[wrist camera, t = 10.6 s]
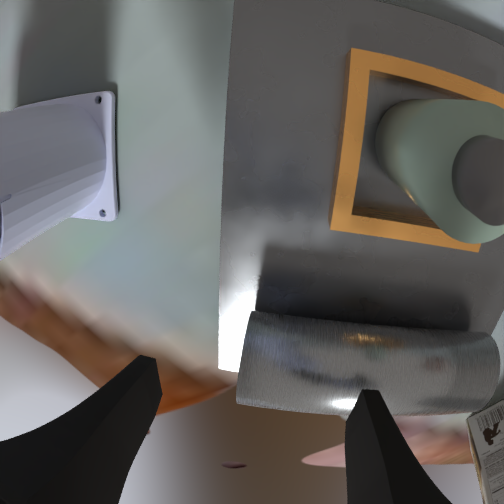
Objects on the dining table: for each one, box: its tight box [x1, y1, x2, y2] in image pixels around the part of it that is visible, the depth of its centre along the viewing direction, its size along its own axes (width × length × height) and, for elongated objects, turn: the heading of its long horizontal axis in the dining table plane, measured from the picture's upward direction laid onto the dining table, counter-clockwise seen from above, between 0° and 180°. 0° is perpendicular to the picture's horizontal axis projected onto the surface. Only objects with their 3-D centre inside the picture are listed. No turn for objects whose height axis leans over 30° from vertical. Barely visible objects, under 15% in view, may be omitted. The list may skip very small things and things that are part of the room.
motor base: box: [219, 0, 504, 416], centre depth 13 cm, size 18×22×7 cm
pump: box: [375, 99, 504, 244], centre depth 9 cm, size 4×4×7 cm
